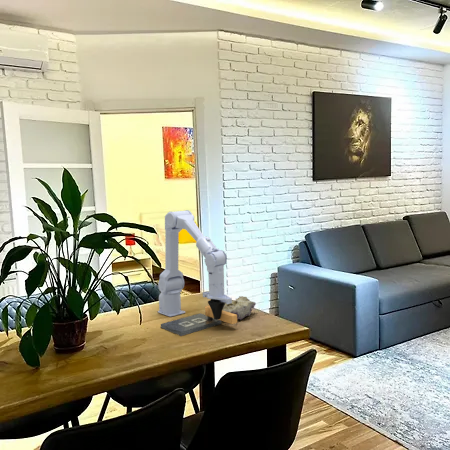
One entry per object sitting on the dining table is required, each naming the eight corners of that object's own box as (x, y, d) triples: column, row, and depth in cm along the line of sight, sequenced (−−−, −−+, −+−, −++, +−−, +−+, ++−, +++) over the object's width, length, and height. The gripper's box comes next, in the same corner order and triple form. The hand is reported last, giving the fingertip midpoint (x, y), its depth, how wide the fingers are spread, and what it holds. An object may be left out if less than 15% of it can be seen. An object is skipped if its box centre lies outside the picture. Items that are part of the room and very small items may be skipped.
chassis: (160, 327, 175) (160, 322, 174) (200, 316, 187) (200, 311, 187) (181, 336, 165) (180, 330, 165) (221, 324, 177) (221, 318, 177)
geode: (214, 333, 183) (250, 330, 177) (207, 314, 179) (242, 310, 174) (225, 307, 197) (258, 303, 191) (218, 289, 193) (252, 285, 188)
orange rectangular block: (203, 315, 181) (203, 306, 180) (210, 313, 183) (210, 304, 183) (230, 324, 168) (230, 315, 168) (238, 322, 171) (238, 313, 170)
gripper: (195, 282, 174) (196, 317, 175) (220, 288, 163) (221, 325, 164) (210, 279, 178) (211, 313, 180) (235, 285, 168) (236, 321, 169)
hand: (217, 319), depth 172 cm, fingers closed, pressing on orange rectangular block
